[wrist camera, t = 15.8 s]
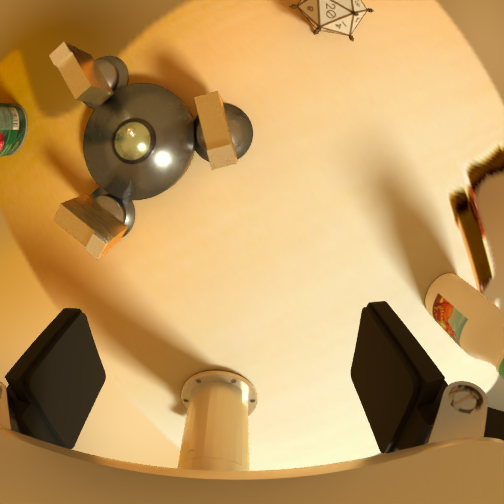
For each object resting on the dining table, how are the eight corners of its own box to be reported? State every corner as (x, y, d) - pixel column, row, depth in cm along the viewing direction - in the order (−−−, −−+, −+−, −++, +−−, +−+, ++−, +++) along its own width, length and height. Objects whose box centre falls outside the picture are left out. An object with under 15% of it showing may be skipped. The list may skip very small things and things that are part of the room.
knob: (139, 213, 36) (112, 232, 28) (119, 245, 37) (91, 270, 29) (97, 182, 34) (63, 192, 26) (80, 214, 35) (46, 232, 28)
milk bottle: (436, 267, 40) (521, 337, 21) (466, 276, 41) (545, 339, 22) (416, 311, 42) (485, 393, 23) (447, 317, 43) (514, 389, 24)
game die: (330, 36, 32) (376, 57, 27) (274, 25, 29) (315, 41, 24) (344, -17, 26) (396, -6, 20) (288, -35, 23) (335, -33, 17)
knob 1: (75, 76, 29) (39, 65, 21) (105, 50, 28) (74, 32, 21) (97, 114, 31) (62, 108, 23) (129, 87, 30) (100, 74, 23)
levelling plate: (181, 278, 39) (176, 289, 36) (36, 199, 35) (22, 204, 32) (263, 121, 33) (265, 118, 30) (95, 50, 29) (83, 44, 25)
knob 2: (250, 156, 34) (252, 159, 26) (207, 168, 34) (195, 174, 26) (236, 99, 32) (233, 85, 24) (192, 111, 32) (176, 101, 24)
